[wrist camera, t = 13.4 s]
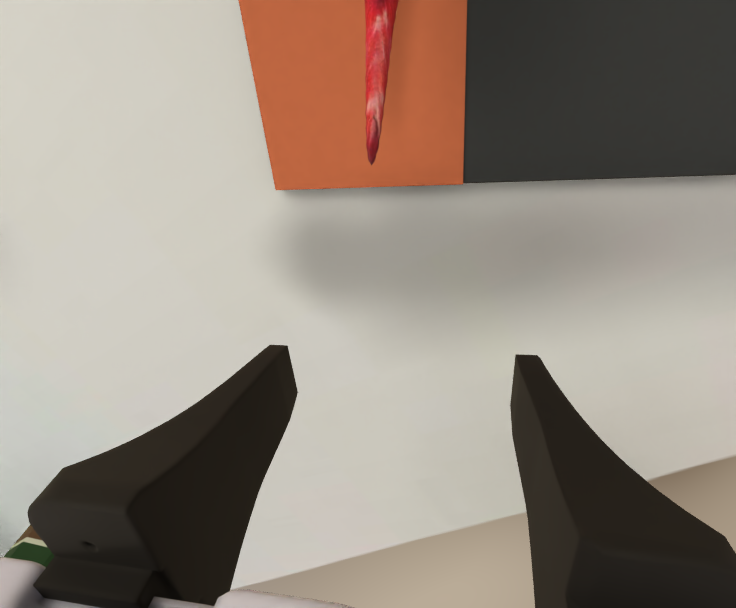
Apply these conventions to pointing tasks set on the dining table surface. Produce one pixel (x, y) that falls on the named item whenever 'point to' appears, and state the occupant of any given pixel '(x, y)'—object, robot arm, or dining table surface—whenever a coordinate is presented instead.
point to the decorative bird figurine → (377, 66)
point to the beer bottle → (31, 549)
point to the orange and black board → (497, 91)
